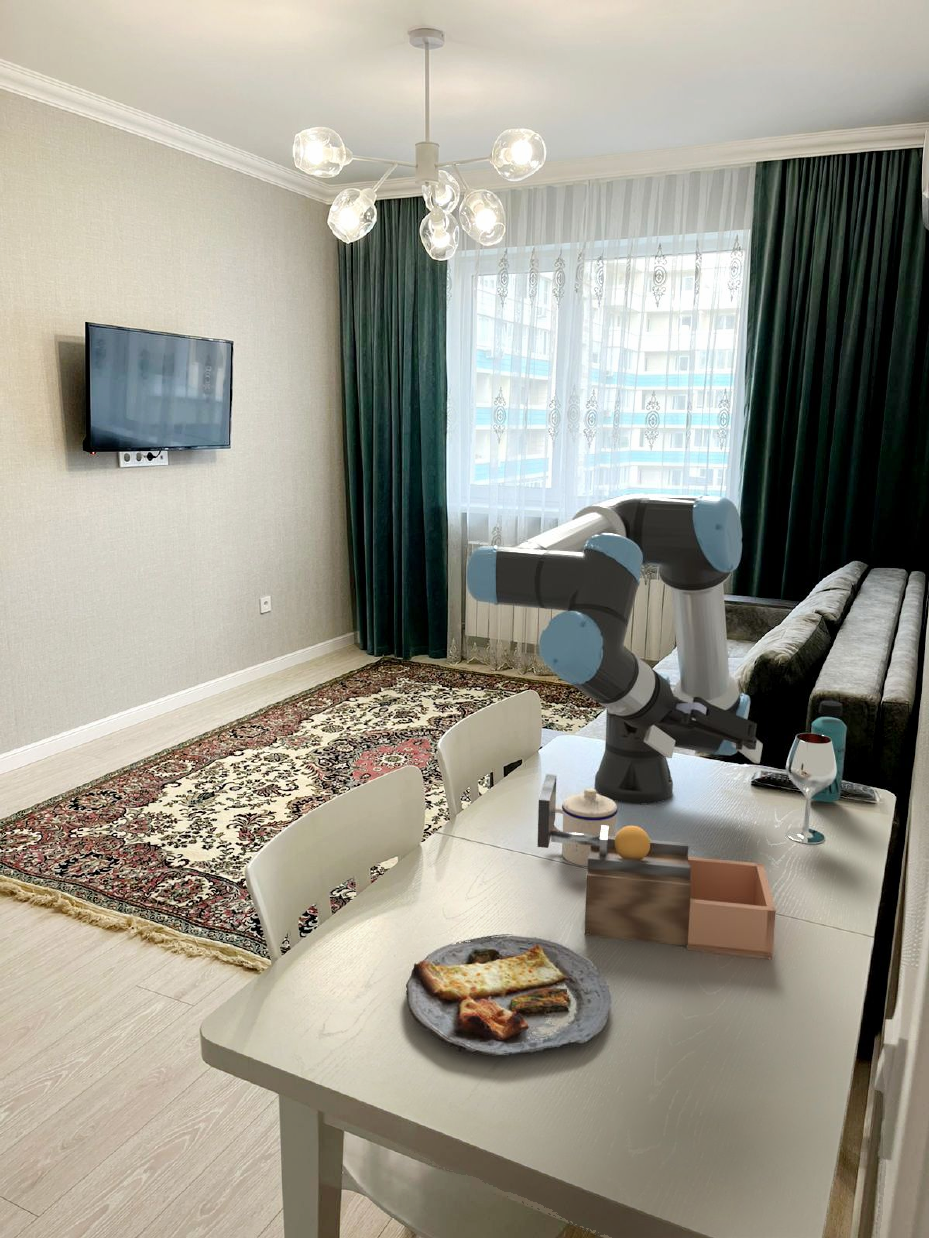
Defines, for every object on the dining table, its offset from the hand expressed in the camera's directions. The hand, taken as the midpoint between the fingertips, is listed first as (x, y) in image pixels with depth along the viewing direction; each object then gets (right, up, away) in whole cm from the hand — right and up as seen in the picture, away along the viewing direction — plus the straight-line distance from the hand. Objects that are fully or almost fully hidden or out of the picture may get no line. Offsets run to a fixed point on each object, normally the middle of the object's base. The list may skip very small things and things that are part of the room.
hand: (713, 751), depth 128 cm
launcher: (-10, -25, +4) cm, 27 cm away
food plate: (-30, -29, -15) cm, 44 cm away
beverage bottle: (+34, -17, +47) cm, 60 cm away
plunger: (-19, -15, +4) cm, 25 cm away
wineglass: (+25, -20, +32) cm, 45 cm away
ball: (-11, -13, +2) cm, 17 cm away
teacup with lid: (-16, -21, +25) cm, 36 cm away
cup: (+2, -25, +2) cm, 25 cm away
